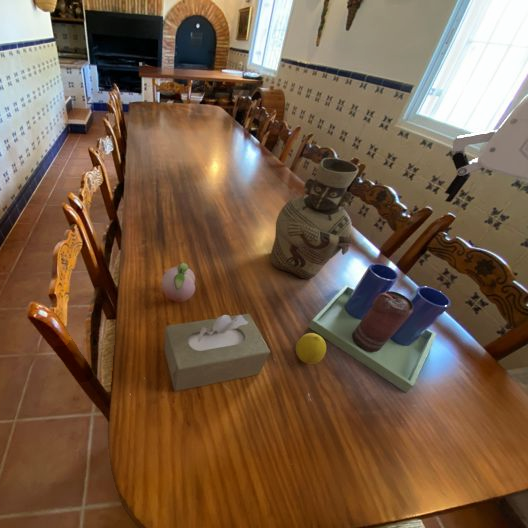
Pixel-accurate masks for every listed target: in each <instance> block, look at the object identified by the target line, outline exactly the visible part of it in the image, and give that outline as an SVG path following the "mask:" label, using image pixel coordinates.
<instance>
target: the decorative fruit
mask: <svg viewBox="0 0 528 528" xmlns="http://www.w3.org/2000/svg"><path fill="white" fill-rule="evenodd" d="M195 283H196V276H195V274H194V272H193V270H192V269H190V268H189V265H188V264H187V263H186V262H183V263H180V264H178V266H174V267H171V268H169V269H167V270H166V271H165V272H164V274H163V276H162V279H161V289H162V291H163V293H164V295H165V296H166V297H167V298H168V299H169V300H171V301H173V302H174V303H175V302H176V303H183V302H186V301H188V300H190V299H191V298H192V297H193V295H194V294H195V291H196V284H195Z"/></svg>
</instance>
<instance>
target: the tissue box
mask: <svg viewBox="0 0 528 528" xmlns="http://www.w3.org/2000/svg"><path fill="white" fill-rule="evenodd" d="M163 351H164V354H165V359H166V363H167V367H168V372H169V375H170V379H171V382H172V387H173V391H174V392H178V391H179V392H180V391H184V390H189V389H193V388H199V387H204V386H209V385H213V384H214V385H215V384H219V383H223V382H228V381H233V380H238V379H243V378H247V377H253V376H258V375H261V372H262V371H263V368H264V366H265V364H266V362H267V360H268V357H269V355H270V353H271V350H270V348H269V347H268V344H267V343H266V341H265V339H264V338H263V336H262V334H261V332H260V329H258V327H257V325H256V322H255V321H254V319H253V317H252V315H251V314H250V313H242V314H237V315H231V316H230V315H228V314H223V315H220V316H219V317H217V318H209V319H203V320H196V321H190V322H183V323H176V324H170V325H166V326H165V333H164V346H163Z"/></svg>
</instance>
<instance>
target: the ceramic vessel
mask: <svg viewBox="0 0 528 528" xmlns="http://www.w3.org/2000/svg"><path fill="white" fill-rule="evenodd" d="M359 170H360V169H359V167H358V166H357V165H356V164H354V163H353V162H351V161H348V160H345V159H341V158H335V157H323V158H322V159H321V160H320V162H319V164H318V167H317V169H316V173H315V179H313V178H308V179H307V180H306V182H305V184H304V187H303V193H304V194H306V195H301V196H298V197H295V198H291V199H290V200H288V201H287V202H286V203H285V204H284V205H283V207H282V208H281V210H280V211H279V213H278V215H277V218H276V221H275V234H274V236H275V237H274V240H273V241H274V242H273V245H272V249H271V252H270V262H271V264H272V266H274V268H276V269H279V270H281V271H283V272H288V273H290V274H293V275H295V276H296V277H298V278H301V279H304V280H305V279H306V280H307V279H309V280H310V279H312V278H314V277H315V276H316V275H318V273H319V272H321V271H322V269H323V268H324V267H325V266H326V264H327V263H328V262H329V261H330V260H331V259H333V258H334V257H335V256H337V254H338V253H339V252H340V251H341V255H343V256H344V255H345V254H347V253H348V252H349V247H350V246H351V245H352V239H351V238H350V235H351V232H352V220H351V217H350V215H349V214H348V212H347V211H346V209H345V207H347V205H348V204H349V203H350V201H351V199H352V192H350V191H347V189H348V187H349V186H350V185H351V184H352V182H353V181H354V179H355V178H356V176H357V175H358V174H359Z"/></svg>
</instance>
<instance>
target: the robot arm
mask: <svg viewBox="0 0 528 528" xmlns="http://www.w3.org/2000/svg"><path fill="white" fill-rule="evenodd" d="M482 143H486V144H485V145H484V146H483V148H482V150H481V151H480V153H479V154H478V156H477V158H475V159H472V160H470V161H469V159H468V157H467V154H466V149H467V148H466V147H467V146H469V145H475V144H482ZM451 160H452V163H453V165H454V167H455V169H456V175H455V177H454V178H453V180H452V181H451V183H450V184H449V186H448V187H447V188H446V189H445V191H444V194H447V195H448V196H447V197H446V199H445V200H444V202H446V203H451V202H452V201H453V200H454V199H455V197H456V196H457V195H458V194H459V192H460V191H461V189H462V188H463V187H464V185H465V184H466V182H467V181H468V180H469V179H470V177H471V176H472V175H471V173H473V172H476V171H478V170H481V169H485V170H489V171H491V172H495V173H497V174H502V175H505V176H508V177H509V176H510V177H513V178H516V179H520V180H524V181H527V182H528V93H527V94H526V95H525V96H524V97H523V98H522V99H521V100H520V101H519V103H518V104H517V105H516V106H515V107H514V108H513V110H512V111H511V112H510V113H509V114H508V115H507V117H506V118H505V120H504V121H503V122H502V123H501V125H500V126H499V127H498V128H497V129H495V130H488V131H483V132H478V133H477V132H476V133H471V134H465V135H459V136H457V137H456V138H454V139H453V141H452V157H451ZM526 228H527V229H528V224H527V226H526Z"/></svg>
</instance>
